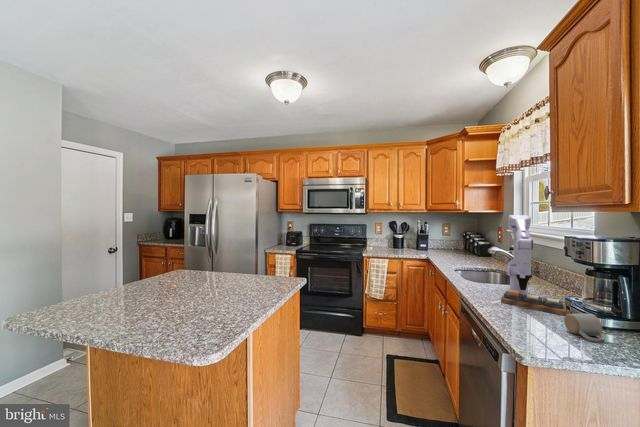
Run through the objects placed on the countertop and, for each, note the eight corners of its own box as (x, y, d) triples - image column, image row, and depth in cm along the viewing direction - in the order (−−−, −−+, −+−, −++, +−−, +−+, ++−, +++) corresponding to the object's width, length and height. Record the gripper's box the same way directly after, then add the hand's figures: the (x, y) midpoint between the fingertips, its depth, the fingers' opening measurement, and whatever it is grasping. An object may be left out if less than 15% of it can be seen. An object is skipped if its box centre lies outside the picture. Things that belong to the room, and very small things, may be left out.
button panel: (501, 302, 135) (501, 294, 135) (504, 296, 144) (504, 289, 144) (565, 315, 119) (566, 306, 119) (565, 308, 128) (565, 300, 128)
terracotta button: (507, 295, 136) (508, 291, 136) (509, 293, 139) (509, 289, 139) (518, 297, 133) (518, 293, 133) (519, 295, 137) (519, 291, 137)
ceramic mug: (561, 328, 106) (562, 309, 106) (584, 330, 105) (585, 310, 105) (584, 342, 96) (586, 321, 95) (610, 344, 95) (611, 322, 94)
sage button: (546, 304, 126) (546, 299, 126) (546, 302, 130) (546, 297, 130) (559, 307, 123) (559, 302, 123) (558, 304, 127) (559, 299, 127)
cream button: (526, 301, 131) (526, 296, 131) (527, 298, 135) (527, 294, 135) (538, 303, 128) (538, 298, 128) (538, 301, 132) (538, 296, 132)
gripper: (515, 259, 142) (514, 285, 142) (512, 263, 131) (511, 291, 131) (532, 261, 137) (531, 287, 137) (530, 265, 126) (529, 294, 126)
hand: (522, 289), depth 134 cm, fingers closed
